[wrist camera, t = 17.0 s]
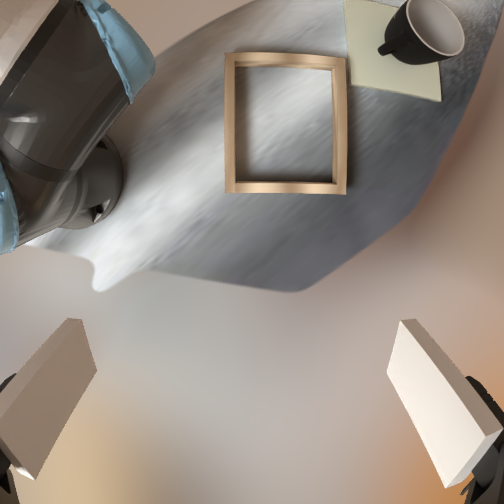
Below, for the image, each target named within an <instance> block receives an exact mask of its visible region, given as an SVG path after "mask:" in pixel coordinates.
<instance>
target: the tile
mask: <svg viewBox="0 0 504 504" xmlns="http://www.w3.org/2000/svg"><path fill="white" fill-rule="evenodd" d="M343 7H344V17H345V27H346V39H347V53H348V70H349V86H355V87H363V88H370V89H376V90H382V91H388V92H393V93H399V94H404V95H409V96H414V97H418V98H423V99H427V100H431V101H435V102H441V88H440V76H439V66H438V62H433V63H429V64H423V65H409V64H406V63H403V62H401V61H399V60H397V59H396V58H395V57H394V56H393V55H392V54H388V55H385V56H381V55H380V54H379V53H378V50H377V49H378V48H379V47H380V46H381V45H382V44H384V43H385V39H384V34H385V30H386V27H387V25H388V23H389V21H390V20H391V18H392V17H393V16H394V14H395V13H396V12H397V11H398V9H399V8H396V7H393V6H389V5H385V4H381V3H376V2H372V1H367V0H343Z"/></svg>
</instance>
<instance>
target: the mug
mask: <svg viewBox="0 0 504 504" xmlns="http://www.w3.org/2000/svg"><path fill="white" fill-rule="evenodd" d="M384 39H385V43H384V44H382V45H381V46H380V47H379V48H378V49H377V50H378V53H379V54H380V55H381V56H385V55H388V54H392V55H393V56H394V57H395V58H396V59H397V60H399V61H401V62H403V63H406V64H409V65H423V64H429V63H433V62H438V61H441V60H445V59H448V58H451V57H453V56H456V55H457V54H459V53H460V52H461V51H462V49H463V47H464V43H465V36H464V31H463V28H462V26H461V24H460V22H459V20H458V18H457V17H456V15H455V14H454V13H453V12H452V10H451V9H450V8H449V7H447V6H446V5H445V4H444V3H442V2H441V1H439V0H407V1H406V2H405V3H404V4H403V5H402V6H401V7H400V8H399V9H398V11H397V12H396V13H395V14H394V16H393V17H392V18H391V20H390V21H389V23H388V25H387V27H386V30H385V34H384Z"/></svg>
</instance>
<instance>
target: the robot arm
mask: <svg viewBox="0 0 504 504" xmlns="http://www.w3.org/2000/svg"><path fill="white" fill-rule="evenodd" d="M154 71H155V60H154V57H153V55H152V53H151V51H150V49H149V48H148V47H147V45H146V44H145V42H144V41H143V40H142V39H141V37H140V36H139V35H138V34H137V32H136V31H135V30H134V29H133V28H132V27H131V25H130V24H129V23H128V22H127V21H126V20H125V19H124V18H123V17H122V16H121V15H120V14H119V13H118V12H117V11H116V10H115V9H113V8H111V6H110V5H109V4H108V3H107V2H106V1H105V0H0V255H2V254H5V253H10V252H11V251H13V250H14V249H15V248H16V247H18V246H20V245H22V244H24V243H26V242H28V241H30V240H32V239H34V238H36V237H38V236H40V235H43V234H45V233H47V232H49V231H51V230H53V229H55V228H57V227H59V228H66V229H83V228H87V227H89V226H91V225H93V224H96V223H98V222H99V221H101V220H102V219H104V218H105V217H106V216H107V215H108V214H109V213H110V212H111V210H112V209H113V208H114V206H115V204H116V202H117V200H118V198H119V195H120V192H121V188H122V181H123V170H122V163H121V159H120V156H119V153H118V151H117V149H116V147H115V145H114V144H113V142H112V141H111V140H110V139H109V138H108V137H107V136H106V135H105V133H106V132H107V131H108V129H109V128H110V127H111V126H112V124H113V123H114V122H115V121H116V119H117V118H118V117H119V116H120V114H121V113H122V112H123V111H124V110H125V108H126V107H127V106H128V105H131V104H132V103H133V102H134V97H135V96H136V95H137V94H138V93H139V91H140V90H141V89H142V88H143V87H144V85H145V84H146V83H147V82H148V81H149V80H150V78H151V77H152V75H153V73H154ZM96 372H97V369H96V366H95V363H94V360H93V357H92V353H91V350H90V347H89V344H88V340H87V337H86V333H85V330H84V326H83V322H82V320H81V319H72V318H67V319H66V320H65V321H64V322H63V324H62V325H61V326H60V327H59V328H58V329H57V330H56V331H55V332H54V333H53V334H52V335H51V336H50V337H49V338H48V339H47V340H46V342H45V343H44V344H43V345H42V346H41V347H40V348H39V349H38V350H37V351H36V352H35V354H34V355H33V356H32V357H31V358H30V359H29V360H28V361H27V363H26V364H25V365H24V366H23V367H22V368H21V369H20V371H19V372H18V373H15V374H13V375H12V376H10V377H9V378H7V379H6V380H5V381H4V382H3V383H2V384H1V385H0V504H19V500H18V496H17V492H16V488H15V484H14V480H13V475H12V473H11V471H10V470H9V467H10V465H11V463H12V465H13V466H14V467H15V468H16V469H17V471H18V472H19V473H21V474H23V475H25V476H27V477H29V478H31V479H33V480H36V478H37V476H38V474H39V472H40V470H41V468H42V466H43V464H44V462H45V460H46V459H47V457H48V455H49V453H50V451H51V449H52V447H53V446H54V444H55V442H56V440H57V438H58V436H59V435H60V433H61V431H62V429H63V428H64V426H65V424H66V422H67V420H68V419H69V417H70V415H71V414H72V412H73V410H74V408H75V407H76V405H77V403H78V401H79V400H80V398H81V397H82V395H83V393H84V391H85V390H86V388H87V387H88V385H89V383H90V381H91V380H92V378H93V377H94V375H95V373H96ZM386 373H387V374H388V376H389V378H390V380H391V382H392V383H393V385H394V387H395V389H396V391H397V393H398V395H399V397H400V398H401V400H402V402H403V404H404V406H405V408H406V410H407V411H408V413H409V415H410V417H411V419H412V421H413V423H414V425H415V427H416V429H417V431H418V433H419V435H420V437H421V439H422V441H423V443H424V445H425V447H426V449H427V451H428V453H429V455H430V457H431V459H432V461H433V463H434V465H435V467H436V470H437V472H438V474H439V476H440V478H441V480H442V482H443V485H444V487H445V488H448V487H450V486H453V485H455V484H457V483H460V482H462V481H464V479H465V478H466V477H467V476H468V475H469V473H470V472H471V471H472V473H473V475H474V476H475V477H474V478H473V479H472V480H471V481H470V483H469V484H468V485H467V486H466V487H465V488H464V489H463V490H462V492H461V495H463V494H464V493H465V492H466V491H467V490H468V489H469V490H468V494H467V497H466V500H465V503H464V504H504V412H503V411H502V410H501V408H500V407H499V406H498V404H497V403H496V402H495V401H493V398H492V397H491V395H490V394H488V393H487V391H486V389H485V388H484V387H483V385H482V384H481V383H480V382H478V381H477V380H475V379H474V378H472V377H471V376H467V377H464V375H463V374H462V373H461V372H460V370H459V369H458V368H457V367H456V366H455V364H454V363H453V362H452V361H451V359H450V358H449V357H448V356H447V355H446V354H445V352H444V351H443V350H442V349H441V348H440V346H439V345H438V344H437V343H436V342H435V340H434V339H433V338H432V337H431V336H430V335H429V334H428V332H427V331H426V330H425V329H424V328H423V327H422V326H421V325H420V323H419V322H418V321H417V320H416V319H409V320H400V323H399V327H398V332H397V336H396V340H395V343H394V347H393V351H392V355H391V358H390V362H389V365H388V369H387V372H386Z"/></svg>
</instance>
